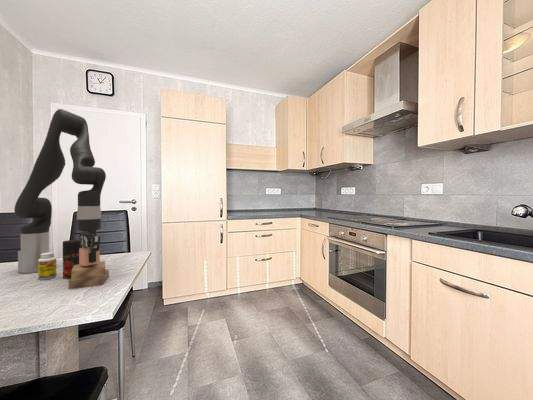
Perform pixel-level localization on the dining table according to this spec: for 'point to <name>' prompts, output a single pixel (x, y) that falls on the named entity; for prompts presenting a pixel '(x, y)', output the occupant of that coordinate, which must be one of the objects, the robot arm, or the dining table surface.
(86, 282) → the lower block
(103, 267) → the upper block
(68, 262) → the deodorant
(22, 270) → the robot arm
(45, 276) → the supplement bottle
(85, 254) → the clay block
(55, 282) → the dining table surface
